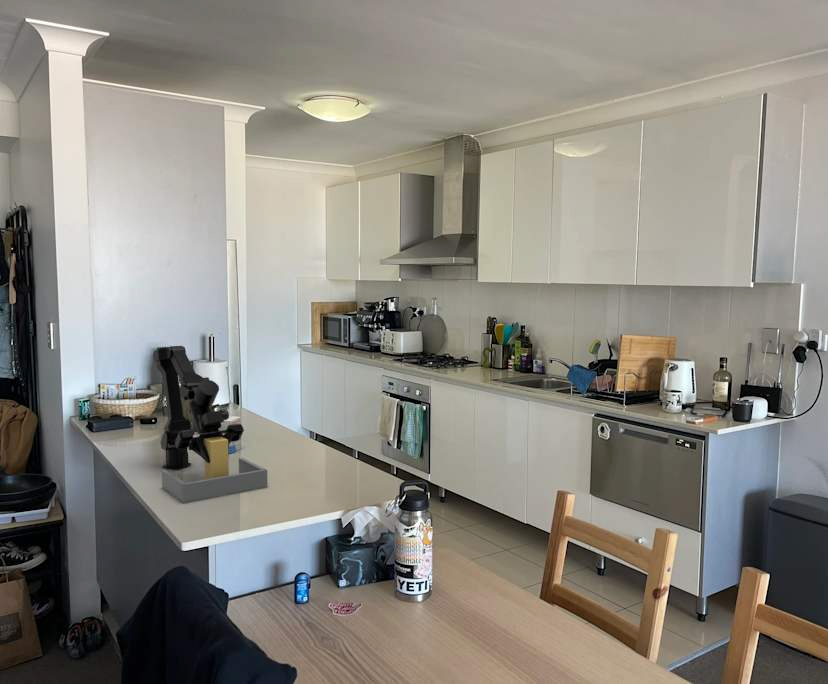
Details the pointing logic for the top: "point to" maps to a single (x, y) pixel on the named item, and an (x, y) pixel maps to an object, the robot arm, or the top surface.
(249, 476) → the open box
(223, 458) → the ochre block
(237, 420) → the ink box
